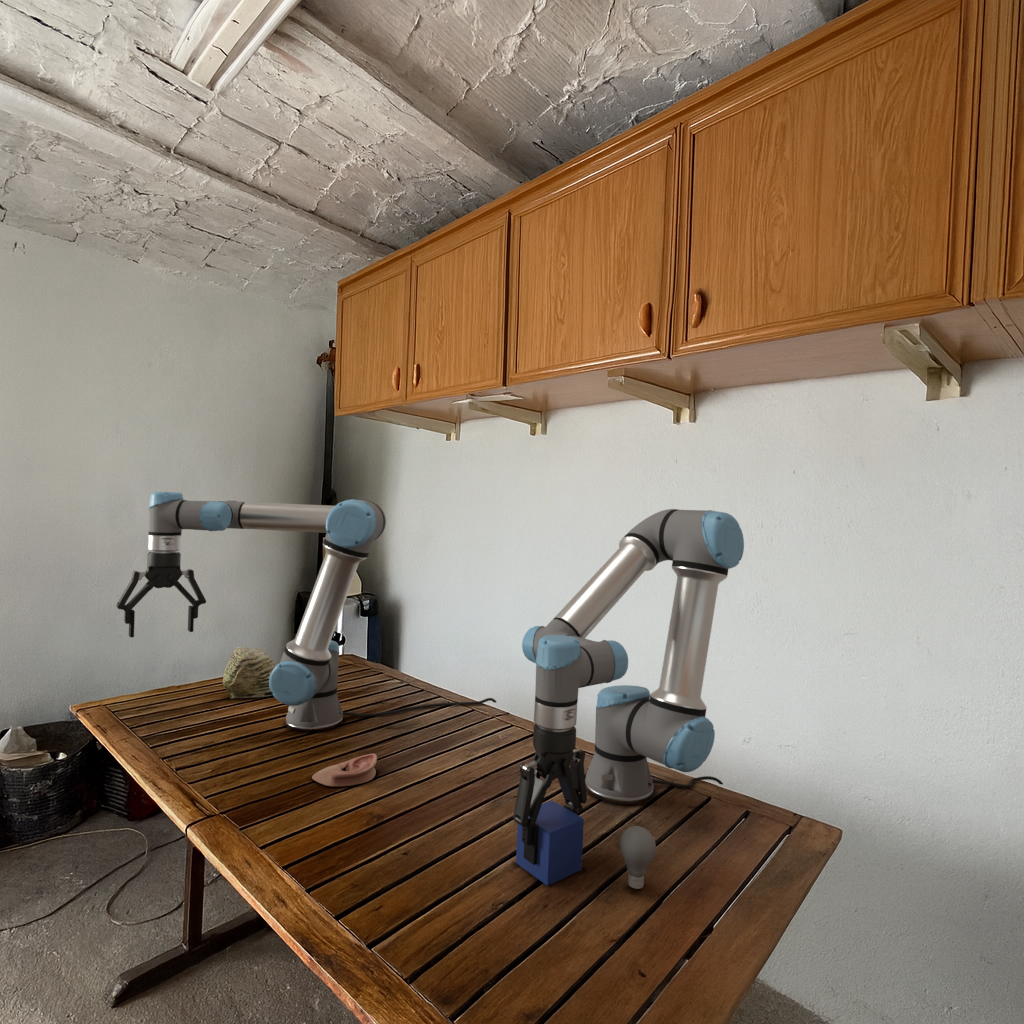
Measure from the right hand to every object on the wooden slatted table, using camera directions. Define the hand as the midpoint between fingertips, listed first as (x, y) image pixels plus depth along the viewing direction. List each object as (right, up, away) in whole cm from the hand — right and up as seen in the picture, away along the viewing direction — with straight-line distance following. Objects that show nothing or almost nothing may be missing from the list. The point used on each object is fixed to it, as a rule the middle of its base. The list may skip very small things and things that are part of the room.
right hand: (549, 852), depth 112 cm
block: (0, -3, 0) cm, 2 cm away
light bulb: (+14, -3, -5) cm, 16 cm away
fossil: (-87, +3, +86) cm, 123 cm away
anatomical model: (-45, 0, +32) cm, 55 cm away
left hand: (-97, +29, +51) cm, 114 cm away
